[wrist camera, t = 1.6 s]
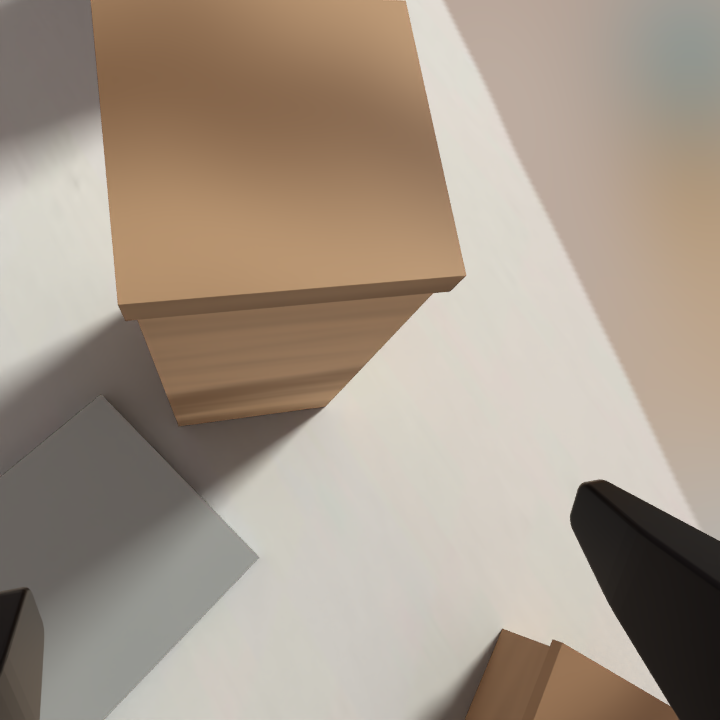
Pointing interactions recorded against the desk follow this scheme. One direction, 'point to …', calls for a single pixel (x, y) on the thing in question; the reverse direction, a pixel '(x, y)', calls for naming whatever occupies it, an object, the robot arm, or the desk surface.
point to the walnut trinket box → (556, 686)
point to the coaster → (109, 558)
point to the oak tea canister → (268, 193)
